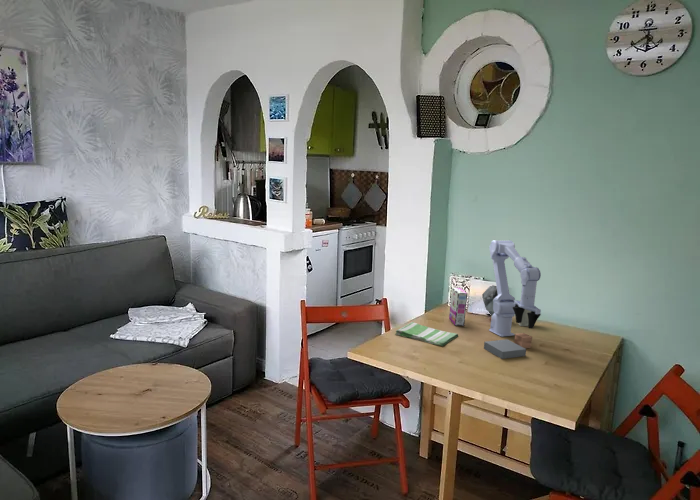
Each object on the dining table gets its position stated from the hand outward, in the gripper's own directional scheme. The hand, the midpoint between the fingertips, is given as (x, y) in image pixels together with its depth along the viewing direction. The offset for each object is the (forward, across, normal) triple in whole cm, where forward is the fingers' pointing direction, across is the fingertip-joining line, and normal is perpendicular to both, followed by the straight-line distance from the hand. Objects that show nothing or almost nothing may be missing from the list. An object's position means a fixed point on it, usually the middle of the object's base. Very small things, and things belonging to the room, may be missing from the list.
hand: (524, 325), depth 220 cm
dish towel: (+10, -23, -35) cm, 43 cm away
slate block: (+9, +4, -13) cm, 17 cm away
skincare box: (+10, -24, +22) cm, 34 cm away
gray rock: (+10, -36, +12) cm, 39 cm away
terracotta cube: (+10, 0, 0) cm, 10 cm away
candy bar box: (+10, -36, -10) cm, 39 cm away
